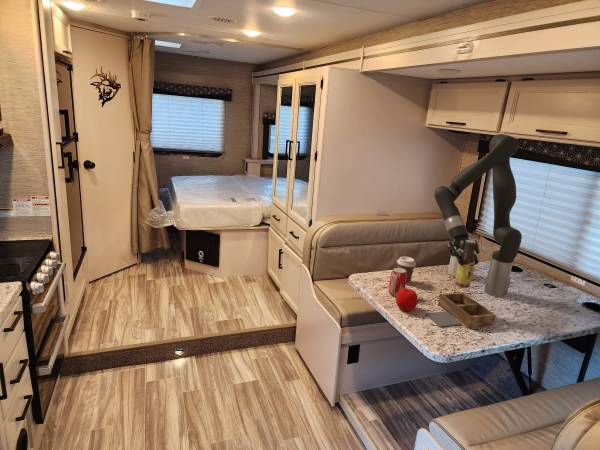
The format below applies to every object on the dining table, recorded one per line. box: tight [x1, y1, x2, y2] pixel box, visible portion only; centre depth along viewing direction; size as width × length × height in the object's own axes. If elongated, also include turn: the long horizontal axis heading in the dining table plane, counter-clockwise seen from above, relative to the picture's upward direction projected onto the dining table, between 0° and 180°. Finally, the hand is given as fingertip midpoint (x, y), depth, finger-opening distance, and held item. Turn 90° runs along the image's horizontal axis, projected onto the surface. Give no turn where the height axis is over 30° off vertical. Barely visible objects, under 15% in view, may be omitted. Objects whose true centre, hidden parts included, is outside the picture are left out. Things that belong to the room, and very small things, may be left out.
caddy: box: [437, 292, 497, 329], centre depth 165 cm, size 12×20×5 cm, turn 16°
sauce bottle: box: [454, 239, 476, 289], centre depth 164 cm, size 6×6×20 cm
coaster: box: [424, 310, 462, 328], centre depth 160 cm, size 10×10×1 cm
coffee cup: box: [396, 256, 417, 285], centre depth 192 cm, size 9×9×12 cm
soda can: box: [388, 267, 407, 297], centre depth 178 cm, size 7×7×12 cm
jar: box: [447, 246, 463, 278], centre depth 204 cm, size 10×10×18 cm
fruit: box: [395, 286, 419, 312], centre depth 166 cm, size 9×9×10 cm
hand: (469, 264), depth 162 cm, fingers closed on sauce bottle, 6 cm apart
